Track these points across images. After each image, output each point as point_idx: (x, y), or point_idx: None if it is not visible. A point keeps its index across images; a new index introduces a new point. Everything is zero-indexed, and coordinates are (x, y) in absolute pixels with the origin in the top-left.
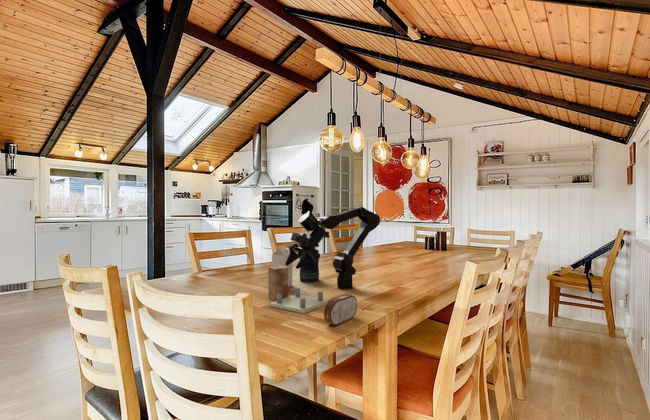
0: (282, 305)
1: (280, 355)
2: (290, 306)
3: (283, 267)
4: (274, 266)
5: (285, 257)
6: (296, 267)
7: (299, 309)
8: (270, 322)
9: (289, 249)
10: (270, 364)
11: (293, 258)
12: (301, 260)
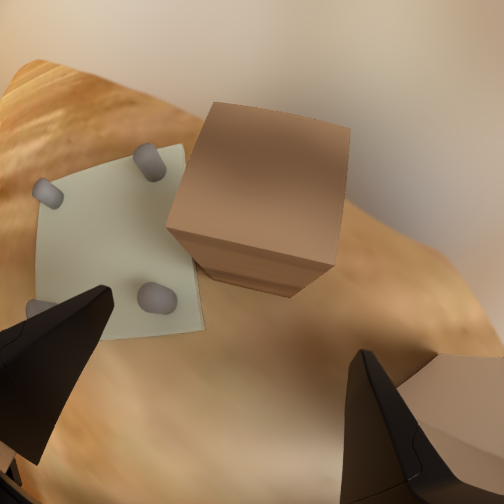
0: (120, 160)
1: (25, 75)
2: (90, 173)
3: (213, 197)
4: (336, 175)
5: (500, 450)
6: (100, 289)
7: (56, 180)
8: (89, 95)
9: (493, 498)
10: (29, 63)
11: (358, 481)
12: (21, 322)
